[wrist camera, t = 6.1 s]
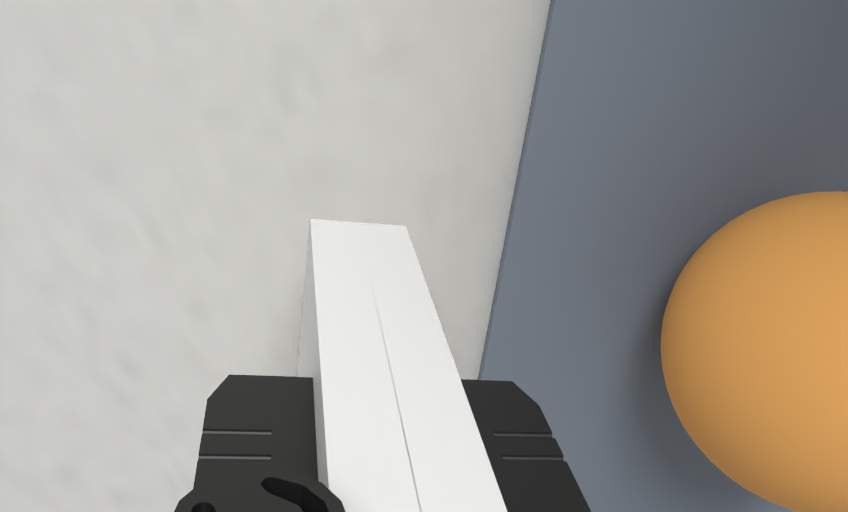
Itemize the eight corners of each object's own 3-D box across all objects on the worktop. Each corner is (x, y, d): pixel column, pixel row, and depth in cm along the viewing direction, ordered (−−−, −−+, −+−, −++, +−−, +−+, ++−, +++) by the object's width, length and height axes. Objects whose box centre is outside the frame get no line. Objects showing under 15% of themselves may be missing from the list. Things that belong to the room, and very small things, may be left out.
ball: (950, 478, 16) (678, 368, 18) (1078, 217, 13) (750, 135, 16) (938, 661, 11) (582, 481, 14) (1124, 317, 9) (663, 182, 12)
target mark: (452, 510, 17) (454, 516, 17) (566, -77, 13) (570, -77, 13) (921, 510, 20) (927, 516, 20) (1162, 14, 15) (1173, 15, 15)
